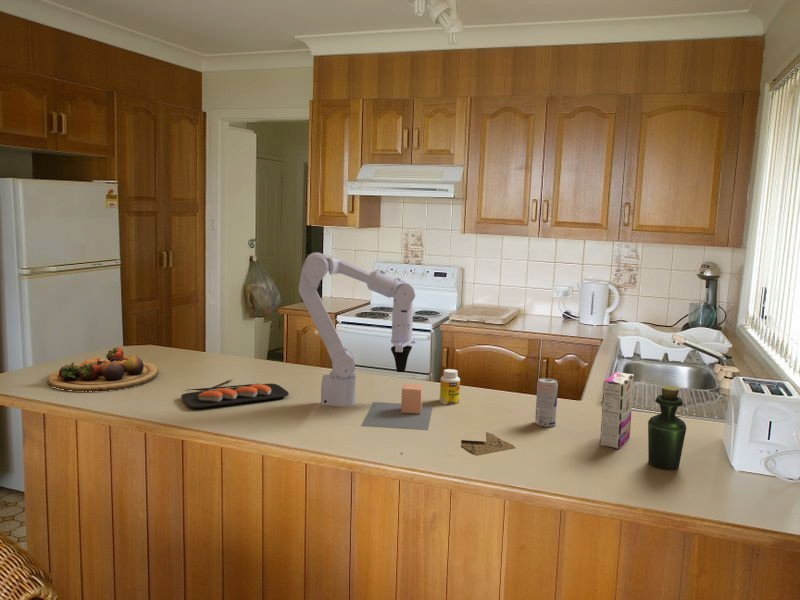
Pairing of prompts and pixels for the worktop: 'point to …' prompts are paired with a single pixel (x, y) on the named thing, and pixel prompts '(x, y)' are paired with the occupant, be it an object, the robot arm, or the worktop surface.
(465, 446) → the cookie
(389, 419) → the mat
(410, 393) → the salmon pink block
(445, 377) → the supplement bottle
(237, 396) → the sushi plate
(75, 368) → the wooden plate with food
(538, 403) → the energy drink
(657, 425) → the potion bottle
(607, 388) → the candy bar box
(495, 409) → the worktop surface
